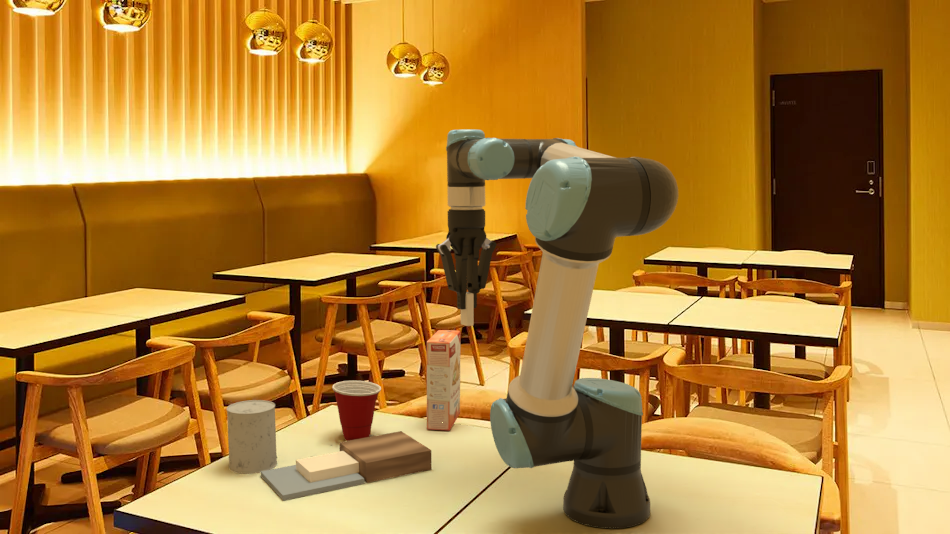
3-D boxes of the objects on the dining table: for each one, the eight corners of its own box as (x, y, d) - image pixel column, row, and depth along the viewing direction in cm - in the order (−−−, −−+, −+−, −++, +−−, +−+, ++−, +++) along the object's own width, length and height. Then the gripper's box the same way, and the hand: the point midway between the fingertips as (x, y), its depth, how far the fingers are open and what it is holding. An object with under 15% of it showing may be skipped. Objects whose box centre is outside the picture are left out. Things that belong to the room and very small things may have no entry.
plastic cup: (376, 446, 185) (375, 392, 184) (327, 445, 186) (326, 391, 185) (386, 430, 196) (385, 379, 194) (340, 429, 197) (338, 378, 195)
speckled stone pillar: (219, 465, 174) (217, 407, 173) (260, 453, 181) (258, 397, 179) (245, 477, 168) (243, 416, 166) (286, 464, 175) (284, 406, 173)
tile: (359, 472, 167) (358, 462, 167) (310, 482, 162) (310, 472, 162) (343, 460, 174) (343, 450, 174) (296, 469, 169) (295, 459, 169)
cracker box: (451, 431, 195) (451, 341, 192) (425, 430, 196) (424, 341, 193) (462, 413, 209) (461, 329, 206) (437, 412, 209) (437, 328, 207)
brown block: (431, 469, 171) (431, 450, 171) (366, 483, 164) (366, 462, 164) (401, 449, 183) (401, 431, 183) (339, 461, 176) (339, 442, 176)
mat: (364, 483, 164) (364, 478, 164) (283, 500, 156) (283, 495, 156) (337, 461, 176) (337, 456, 176) (260, 476, 168) (260, 471, 168)
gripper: (484, 206, 177) (485, 318, 180) (428, 208, 170) (430, 324, 173) (504, 207, 170) (504, 324, 173) (446, 210, 164) (447, 331, 167)
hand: (467, 324), depth 173 cm, fingers closed
